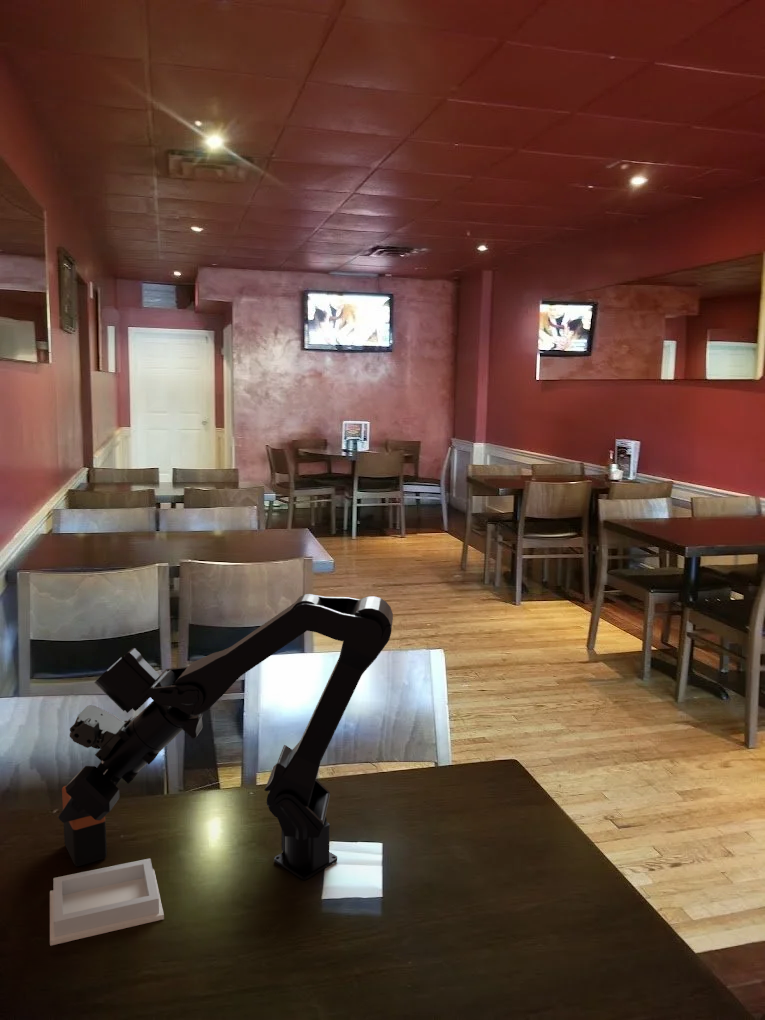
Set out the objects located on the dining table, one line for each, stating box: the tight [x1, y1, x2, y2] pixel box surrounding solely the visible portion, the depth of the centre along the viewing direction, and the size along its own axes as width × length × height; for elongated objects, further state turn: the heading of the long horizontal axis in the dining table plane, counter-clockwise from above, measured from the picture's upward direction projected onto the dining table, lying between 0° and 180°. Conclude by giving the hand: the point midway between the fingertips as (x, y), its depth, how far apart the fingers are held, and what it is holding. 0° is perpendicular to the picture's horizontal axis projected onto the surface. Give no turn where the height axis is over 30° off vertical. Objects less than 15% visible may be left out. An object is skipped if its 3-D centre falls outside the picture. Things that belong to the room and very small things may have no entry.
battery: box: [61, 785, 108, 867], centre depth 111 cm, size 4×7×10 cm, turn 34°
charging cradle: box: [49, 858, 165, 947], centre depth 100 cm, size 13×10×3 cm
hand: (73, 804), depth 110 cm, fingers closed on battery, 8 cm apart
